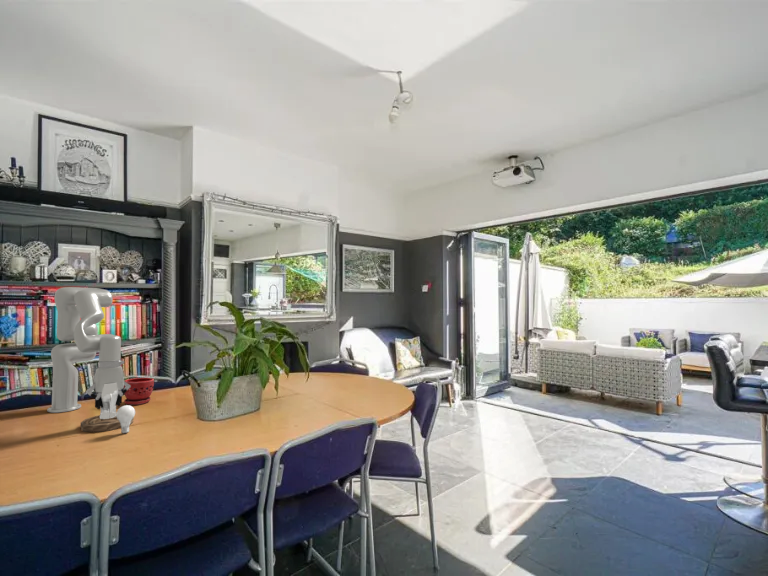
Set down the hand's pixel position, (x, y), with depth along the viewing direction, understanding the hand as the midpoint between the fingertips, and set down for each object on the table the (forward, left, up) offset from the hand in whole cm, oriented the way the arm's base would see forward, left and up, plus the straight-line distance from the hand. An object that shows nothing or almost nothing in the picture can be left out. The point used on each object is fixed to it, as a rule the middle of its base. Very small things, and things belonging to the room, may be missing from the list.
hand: (108, 406), depth 163 cm
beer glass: (0, 0, -5) cm, 5 cm away
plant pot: (-31, +20, -8) cm, 38 cm away
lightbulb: (+17, +2, -8) cm, 19 cm away
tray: (0, 0, -8) cm, 8 cm away
